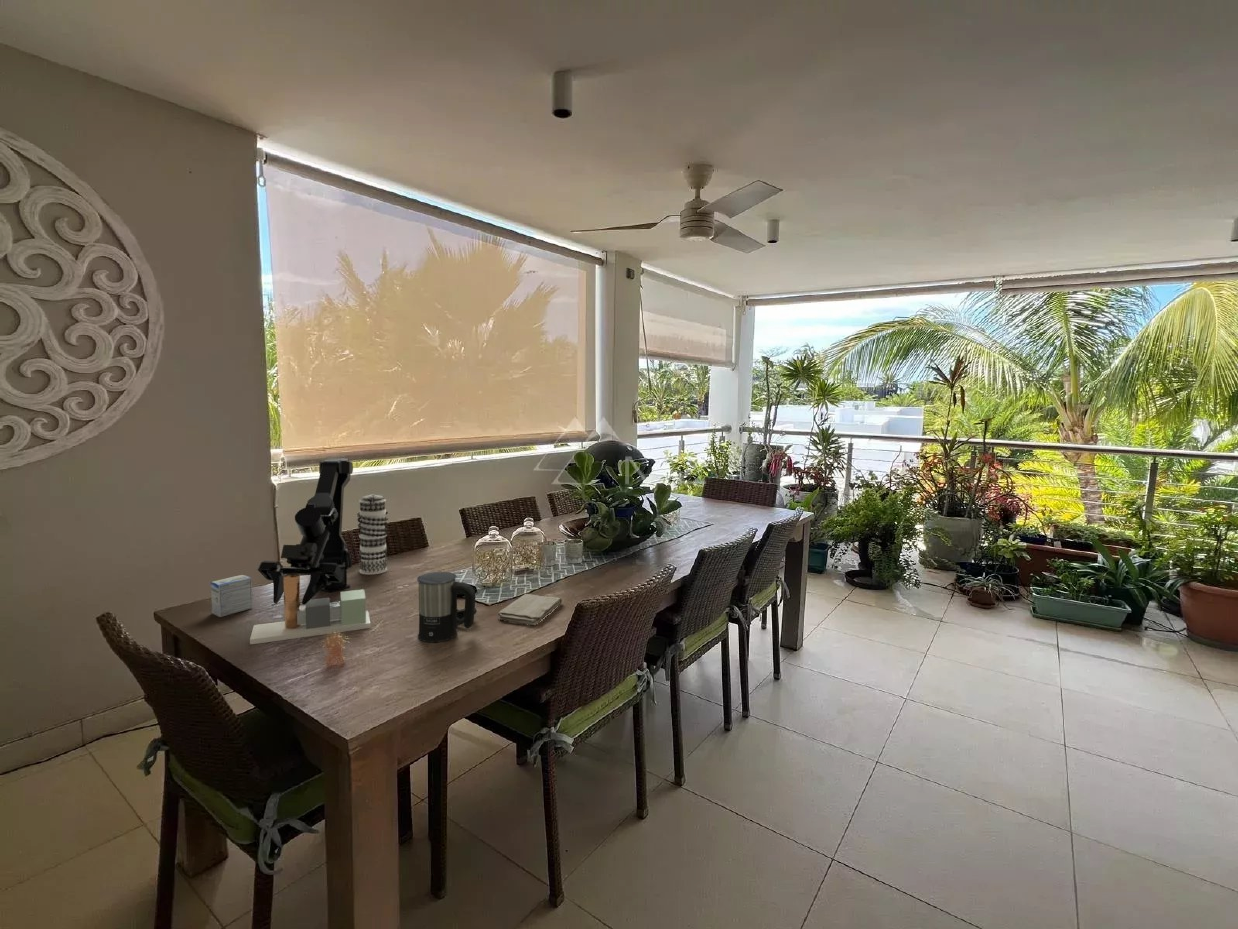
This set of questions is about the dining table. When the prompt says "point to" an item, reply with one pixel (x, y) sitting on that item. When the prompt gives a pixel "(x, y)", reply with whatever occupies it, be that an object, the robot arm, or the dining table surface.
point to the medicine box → (231, 595)
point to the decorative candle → (372, 535)
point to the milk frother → (443, 606)
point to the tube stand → (305, 625)
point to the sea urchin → (335, 648)
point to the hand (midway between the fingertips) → (289, 603)
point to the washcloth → (529, 609)
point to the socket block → (353, 607)
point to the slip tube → (292, 607)
